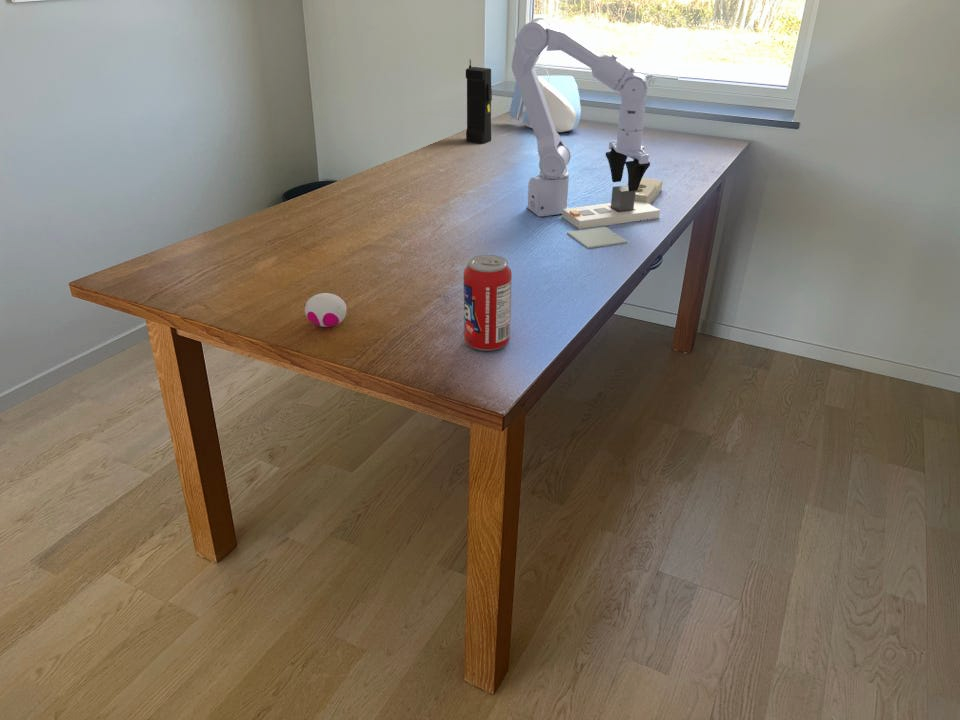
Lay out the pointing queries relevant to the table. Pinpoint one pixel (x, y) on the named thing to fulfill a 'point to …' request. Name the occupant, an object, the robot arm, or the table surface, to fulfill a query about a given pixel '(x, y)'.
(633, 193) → the charger
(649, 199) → the electrical outlet
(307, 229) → the table surface
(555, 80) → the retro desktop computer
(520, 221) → the table surface
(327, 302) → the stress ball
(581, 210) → the power strip
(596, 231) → the mat
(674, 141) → the table surface
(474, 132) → the portable radio
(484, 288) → the soda can
